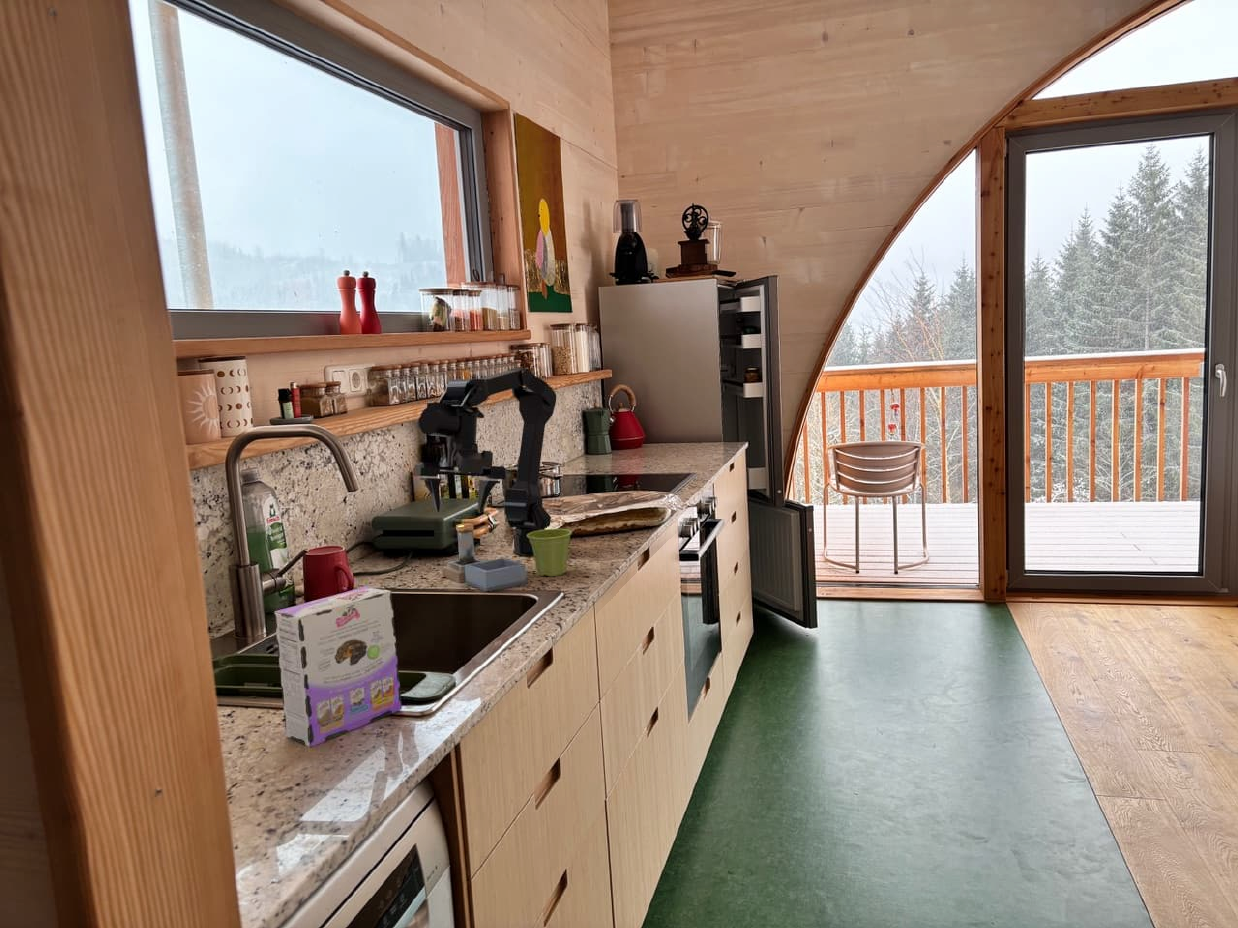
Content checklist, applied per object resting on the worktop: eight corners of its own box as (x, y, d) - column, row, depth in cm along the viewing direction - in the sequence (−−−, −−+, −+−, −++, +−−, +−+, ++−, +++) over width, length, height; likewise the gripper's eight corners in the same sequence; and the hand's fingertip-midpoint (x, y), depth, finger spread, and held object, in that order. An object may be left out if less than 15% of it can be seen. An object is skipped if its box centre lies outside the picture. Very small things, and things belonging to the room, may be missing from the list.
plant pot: (537, 581, 188) (535, 539, 187) (523, 572, 196) (521, 532, 195) (580, 574, 192) (578, 533, 191) (564, 566, 200) (562, 526, 199)
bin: (504, 576, 194) (503, 557, 193) (526, 583, 186) (525, 564, 186) (466, 584, 188) (464, 564, 188) (486, 592, 181) (485, 572, 181)
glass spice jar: (471, 563, 198) (468, 522, 196) (479, 566, 195) (476, 524, 193) (456, 566, 195) (453, 525, 194) (463, 569, 193) (460, 527, 191)
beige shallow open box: (476, 569, 201) (475, 556, 200) (494, 575, 194) (493, 561, 194) (442, 576, 196) (441, 562, 196) (459, 582, 190) (458, 568, 189)
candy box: (376, 701, 126) (366, 584, 124) (403, 710, 122) (393, 589, 120) (284, 737, 115) (271, 609, 113) (310, 748, 111) (298, 616, 109)
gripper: (430, 434, 183) (426, 513, 182) (518, 440, 191) (514, 515, 191) (414, 436, 193) (411, 510, 192) (499, 441, 201) (495, 512, 201)
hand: (459, 512), depth 194 cm, fingers open, 9 cm apart
